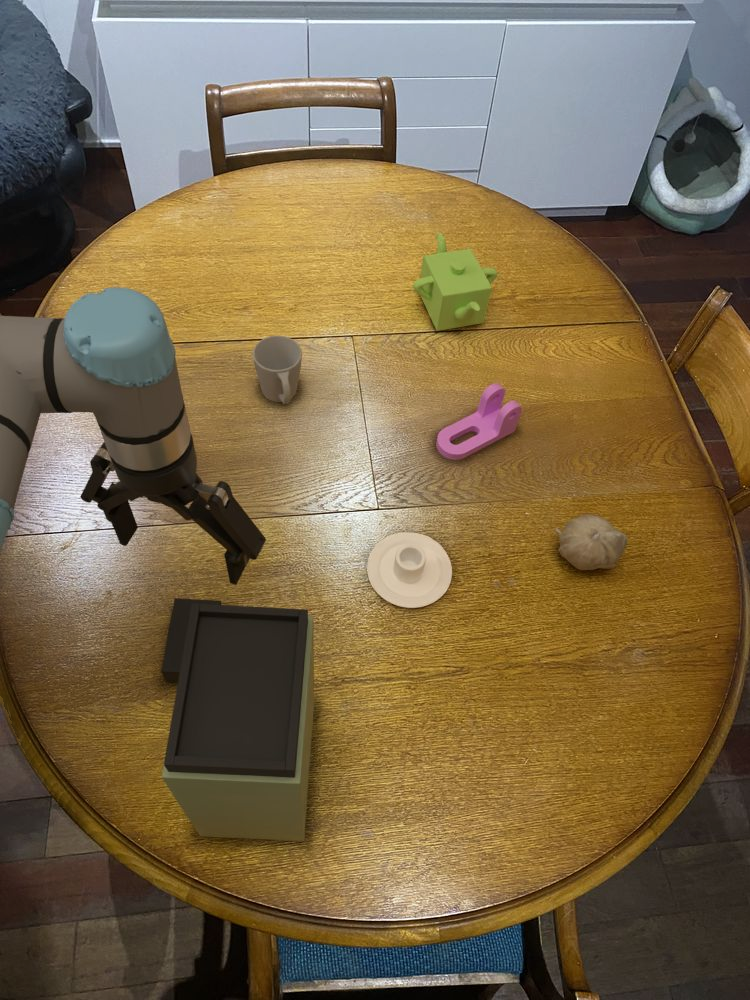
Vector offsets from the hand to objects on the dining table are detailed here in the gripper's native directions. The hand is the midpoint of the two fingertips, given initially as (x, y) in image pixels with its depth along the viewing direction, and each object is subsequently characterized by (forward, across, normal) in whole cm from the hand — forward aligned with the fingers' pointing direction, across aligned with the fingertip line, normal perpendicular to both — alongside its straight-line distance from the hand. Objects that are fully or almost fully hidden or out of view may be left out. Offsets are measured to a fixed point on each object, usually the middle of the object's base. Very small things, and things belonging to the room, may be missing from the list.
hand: (183, 554), depth 89 cm
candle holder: (+19, -23, -18) cm, 35 cm away
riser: (+19, -15, +15) cm, 28 cm away
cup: (+19, +6, -41) cm, 45 cm away
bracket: (+19, -25, -44) cm, 54 cm away
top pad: (+19, -1, +3) cm, 19 cm away
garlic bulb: (+19, -46, -29) cm, 57 cm away
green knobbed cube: (+19, -14, -70) cm, 74 cm away
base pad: (-8, -15, +15) cm, 22 cm away
